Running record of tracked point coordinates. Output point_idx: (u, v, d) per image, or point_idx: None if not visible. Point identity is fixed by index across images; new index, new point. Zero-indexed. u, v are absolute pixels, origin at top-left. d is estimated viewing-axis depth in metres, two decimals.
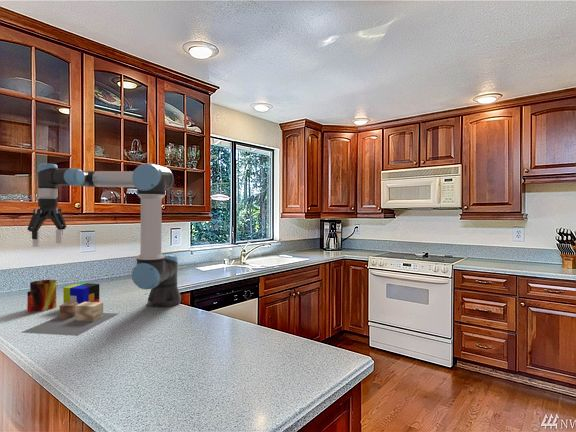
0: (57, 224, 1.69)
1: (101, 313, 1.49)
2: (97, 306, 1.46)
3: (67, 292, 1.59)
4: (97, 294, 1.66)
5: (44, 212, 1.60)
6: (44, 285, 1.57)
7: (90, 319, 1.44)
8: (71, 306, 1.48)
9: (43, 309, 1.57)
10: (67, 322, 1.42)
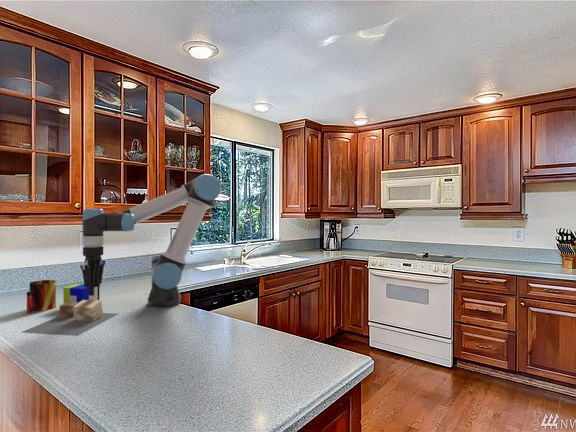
0: (95, 278, 1.50)
1: (100, 311, 1.48)
2: (95, 306, 1.45)
3: (67, 292, 1.59)
4: None
5: (91, 262, 1.46)
6: (44, 285, 1.56)
7: (90, 319, 1.44)
8: (71, 306, 1.48)
9: (42, 309, 1.56)
10: (67, 322, 1.42)
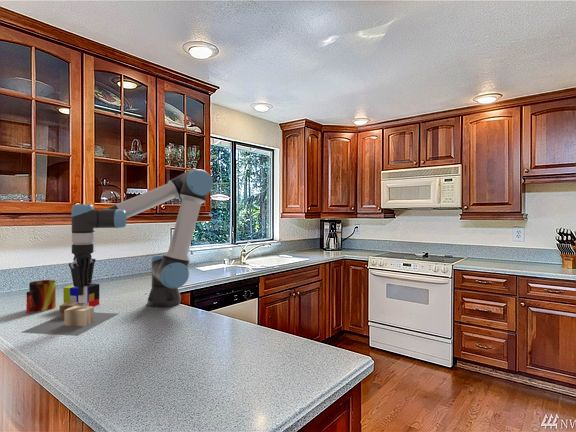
0: (84, 277, 1.43)
1: (91, 310, 1.42)
2: (85, 320, 1.38)
3: (67, 292, 1.59)
4: (97, 294, 1.66)
5: (80, 260, 1.40)
6: (44, 286, 1.56)
7: None
8: (71, 306, 1.48)
9: (42, 309, 1.56)
10: None
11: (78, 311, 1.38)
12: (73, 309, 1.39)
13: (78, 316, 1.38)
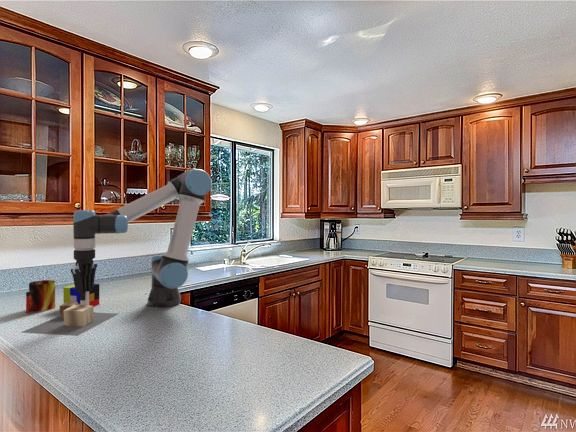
0: (86, 282, 1.45)
1: (90, 309, 1.42)
2: (84, 320, 1.38)
3: (67, 292, 1.59)
4: (97, 294, 1.66)
5: (82, 266, 1.41)
6: (43, 286, 1.56)
7: None
8: None
9: (42, 310, 1.56)
10: None
11: (77, 311, 1.38)
12: (72, 309, 1.39)
13: (77, 316, 1.38)
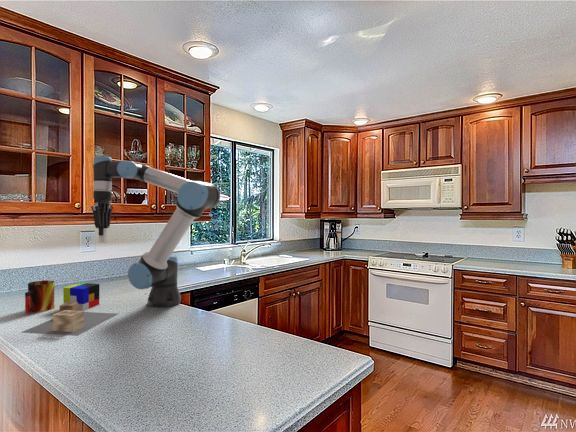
0: (104, 220, 1.65)
1: (75, 319, 1.33)
2: (79, 326, 1.36)
3: (67, 292, 1.59)
4: (97, 294, 1.66)
5: (100, 204, 1.61)
6: (42, 286, 1.56)
7: None
8: (71, 306, 1.48)
9: (41, 310, 1.55)
10: None
11: None
12: (60, 328, 1.32)
13: None
